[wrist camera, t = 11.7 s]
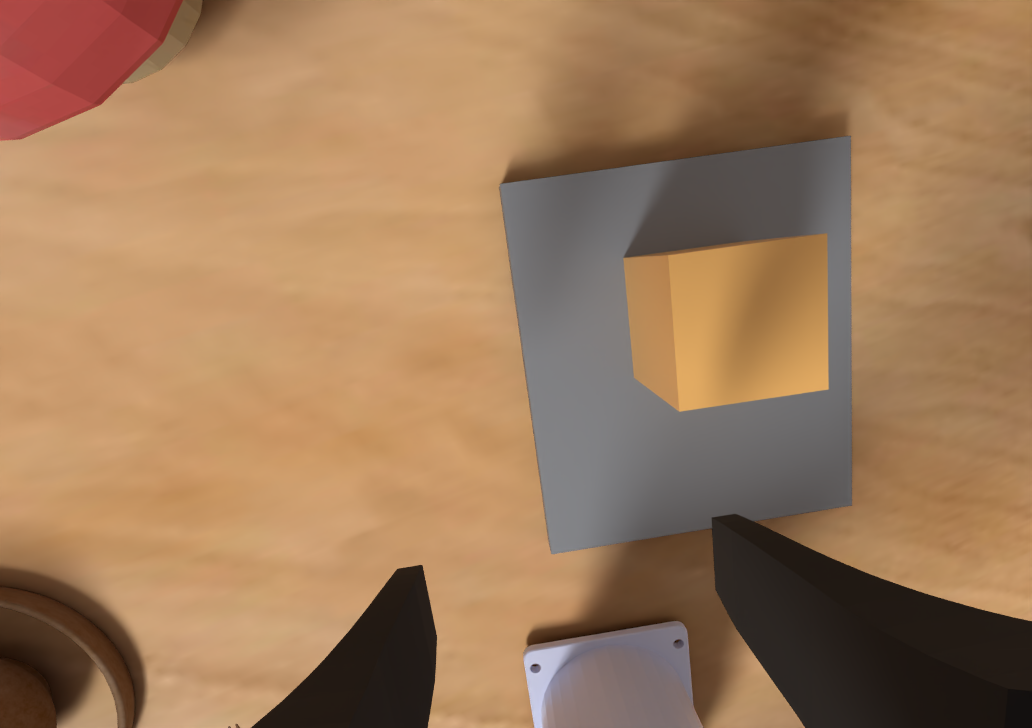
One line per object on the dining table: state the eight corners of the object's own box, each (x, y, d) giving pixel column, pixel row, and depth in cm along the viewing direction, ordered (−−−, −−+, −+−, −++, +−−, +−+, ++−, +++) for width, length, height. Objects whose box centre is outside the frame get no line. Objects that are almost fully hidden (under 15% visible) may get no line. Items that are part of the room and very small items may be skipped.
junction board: (836, 495, 24) (916, 547, 19) (548, 542, 23) (563, 606, 19) (833, 142, 21) (927, 108, 16) (499, 187, 20) (503, 166, 16)
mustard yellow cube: (749, 360, 21) (828, 389, 16) (633, 377, 21) (679, 411, 16) (744, 241, 20) (827, 233, 15) (623, 257, 20) (668, 255, 15)
